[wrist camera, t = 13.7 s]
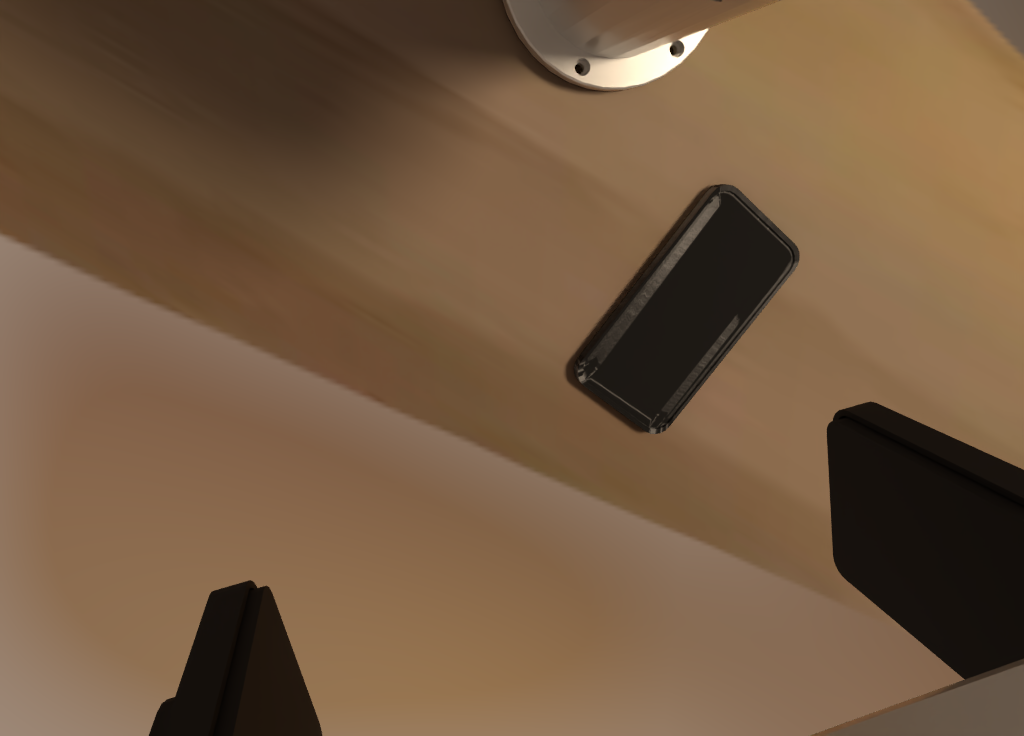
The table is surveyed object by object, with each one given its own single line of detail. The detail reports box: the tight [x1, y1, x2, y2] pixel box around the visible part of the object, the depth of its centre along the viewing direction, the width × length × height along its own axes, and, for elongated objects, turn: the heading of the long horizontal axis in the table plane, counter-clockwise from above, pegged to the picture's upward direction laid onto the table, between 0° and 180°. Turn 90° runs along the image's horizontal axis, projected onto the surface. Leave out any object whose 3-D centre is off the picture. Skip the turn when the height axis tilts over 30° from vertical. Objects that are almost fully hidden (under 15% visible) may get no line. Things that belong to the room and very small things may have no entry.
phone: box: [574, 184, 799, 434], centre depth 43 cm, size 8×1×15 cm
